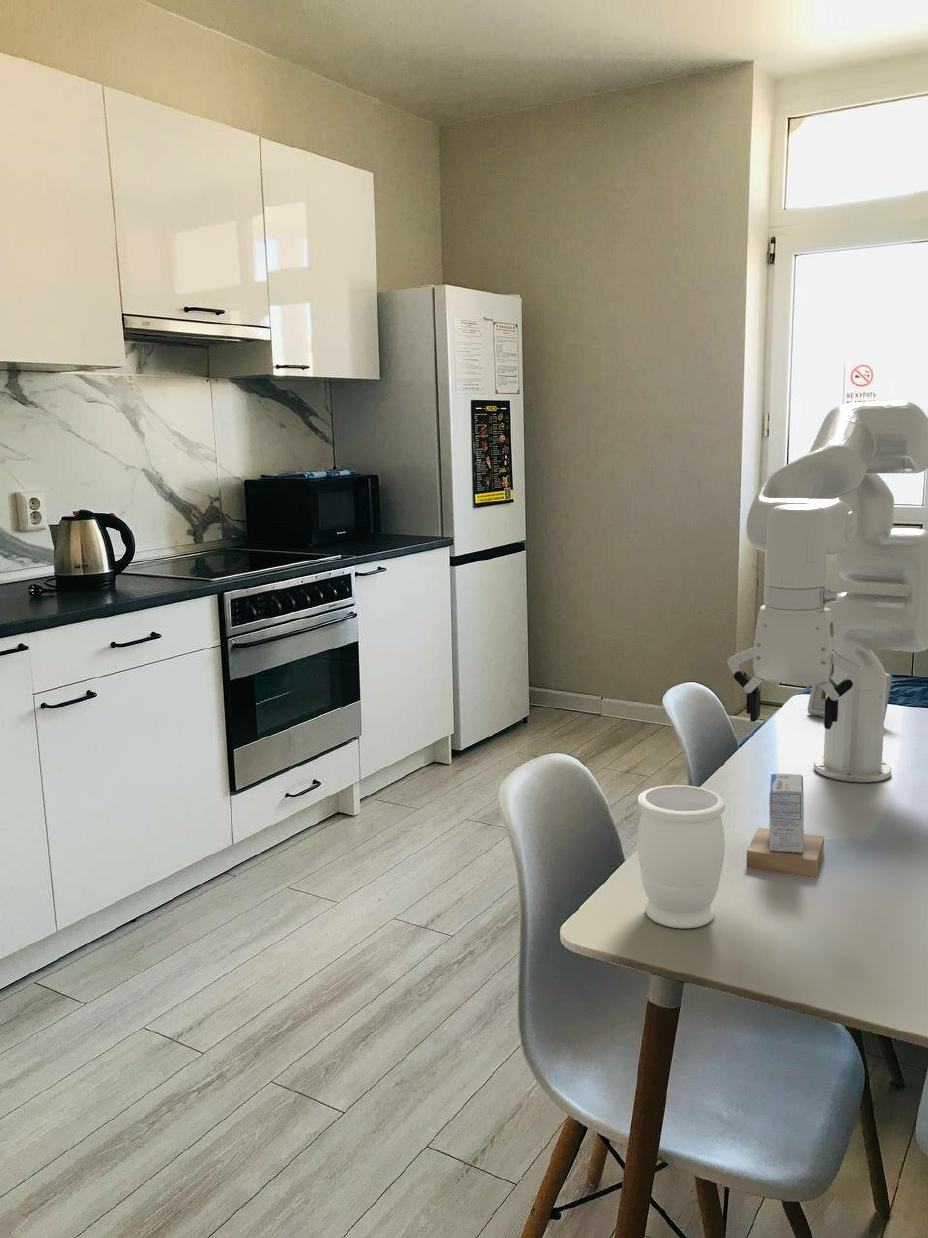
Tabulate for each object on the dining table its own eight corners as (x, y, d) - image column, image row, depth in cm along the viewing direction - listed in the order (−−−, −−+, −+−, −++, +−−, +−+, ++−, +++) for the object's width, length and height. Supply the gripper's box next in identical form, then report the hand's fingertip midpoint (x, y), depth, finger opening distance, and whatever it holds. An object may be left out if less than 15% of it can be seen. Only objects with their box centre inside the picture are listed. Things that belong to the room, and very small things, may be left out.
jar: (706, 942, 117) (708, 820, 115) (623, 922, 123) (624, 804, 120) (734, 906, 126) (737, 792, 124) (655, 888, 132) (657, 778, 129)
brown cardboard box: (757, 847, 146) (758, 827, 145) (823, 856, 142) (824, 836, 141) (746, 871, 138) (746, 850, 137) (815, 882, 134) (816, 860, 133)
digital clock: (802, 715, 212) (804, 665, 211) (829, 708, 217) (831, 659, 216) (870, 732, 199) (873, 679, 197) (898, 724, 204) (900, 672, 202)
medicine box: (803, 854, 135) (804, 792, 134) (769, 852, 136) (769, 790, 135) (803, 833, 142) (803, 774, 141) (770, 830, 144) (770, 772, 142)
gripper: (867, 596, 133) (862, 721, 136) (734, 591, 141) (732, 709, 144) (861, 606, 126) (856, 737, 130) (722, 600, 134) (720, 724, 137)
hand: (791, 722), depth 137 cm, fingers open, 9 cm apart
